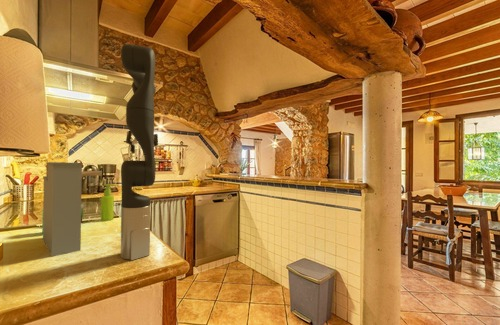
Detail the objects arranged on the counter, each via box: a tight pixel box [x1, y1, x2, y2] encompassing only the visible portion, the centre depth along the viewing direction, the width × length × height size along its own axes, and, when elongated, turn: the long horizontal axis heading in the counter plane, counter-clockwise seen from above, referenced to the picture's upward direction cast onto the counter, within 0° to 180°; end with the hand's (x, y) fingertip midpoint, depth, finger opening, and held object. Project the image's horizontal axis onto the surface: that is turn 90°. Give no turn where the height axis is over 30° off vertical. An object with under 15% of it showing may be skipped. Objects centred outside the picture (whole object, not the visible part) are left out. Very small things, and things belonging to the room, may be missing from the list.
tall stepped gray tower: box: [42, 161, 84, 258], centre depth 89 cm, size 26×8×32 cm, turn 47°
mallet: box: [45, 161, 103, 177], centre depth 100 cm, size 7×19×6 cm, turn 137°
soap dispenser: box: [100, 183, 116, 222], centre depth 127 cm, size 6×7×20 cm
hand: (142, 153), depth 111 cm, fingers open, 8 cm apart
